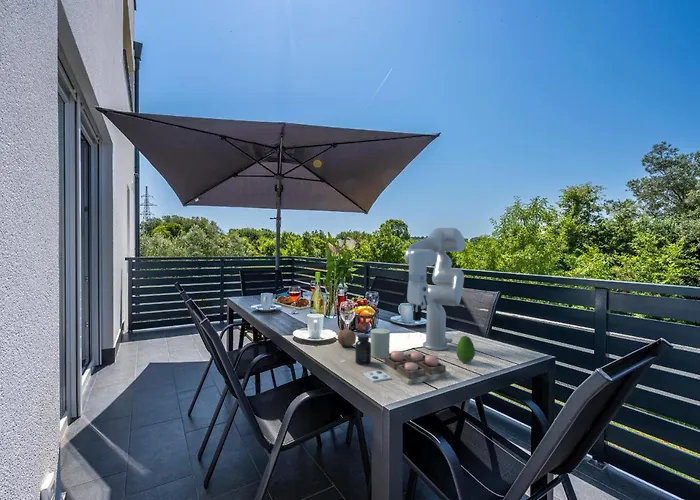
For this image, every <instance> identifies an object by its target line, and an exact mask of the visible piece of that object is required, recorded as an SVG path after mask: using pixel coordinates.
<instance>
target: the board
mask: <svg viewBox="0 0 700 500" xmlns="http://www.w3.org/2000/svg"><path fill="white" fill-rule="evenodd" d="M425 356H426V355H425V354H423V358H422V359H416V360H415V359H413V358H411V353H405V354H404V360H402V361H394V360H392V359H391V356H389V357H386V358H384V362H381V363H380V367H381V368H382V369H384V370H385V371H386V372H388V373H390V374H392V375H393V376H394V377H396V378H398V379H399V380H400V381H401V382H403V383H405V384H407V385H411V384H419V383H422V382H427V381H432V380H433V381H434V380H437V379H444V378H448V376H449V377H450V372H449V371H447V370H446V369H447V365H445V364H443V363H441V362H439V361H438V365H437V366H430V365H427V364H425ZM408 362H412V363H416V364H418V370H414V371H408V370H406V369H405V363H408Z"/></svg>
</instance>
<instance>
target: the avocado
mask: <svg viewBox="0 0 700 500" xmlns="http://www.w3.org/2000/svg"><path fill="white" fill-rule="evenodd" d="M455 350H456V357H457V358H458V360H459V361H460V362H462V363H466V364H467V363H469V362H472V360H474V358H475V355H476V349H475V345H474V343H473V341H472V339H471V338H470V337H469V336H467V335H463V336H461V337H460V339H459V341H458V342H457V345H456V349H455Z"/></svg>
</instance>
